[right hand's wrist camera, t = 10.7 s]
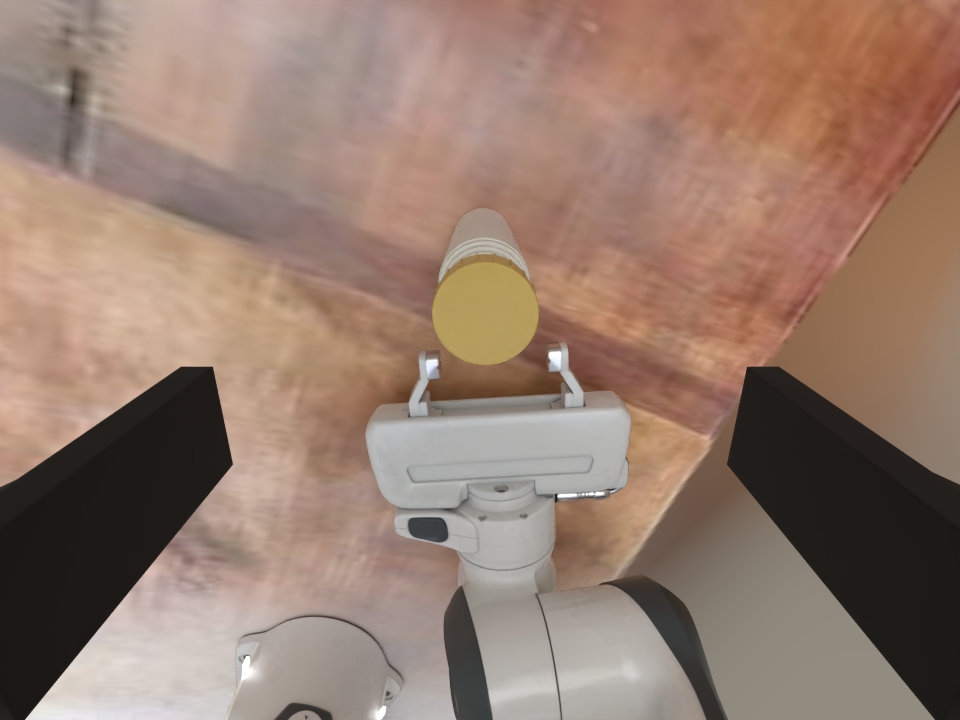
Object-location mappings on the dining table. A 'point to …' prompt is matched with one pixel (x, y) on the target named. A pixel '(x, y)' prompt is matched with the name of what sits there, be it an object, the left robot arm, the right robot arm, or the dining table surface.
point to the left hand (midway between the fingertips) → (492, 348)
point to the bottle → (482, 239)
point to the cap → (485, 309)
